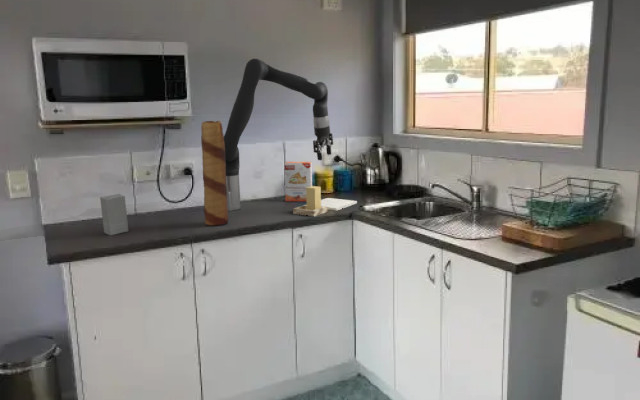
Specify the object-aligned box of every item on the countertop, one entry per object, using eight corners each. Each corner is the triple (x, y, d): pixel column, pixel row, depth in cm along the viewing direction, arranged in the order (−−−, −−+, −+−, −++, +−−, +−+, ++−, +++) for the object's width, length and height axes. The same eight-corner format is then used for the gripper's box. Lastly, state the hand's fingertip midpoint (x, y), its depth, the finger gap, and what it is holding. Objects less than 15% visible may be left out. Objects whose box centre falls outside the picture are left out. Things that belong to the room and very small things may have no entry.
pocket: (313, 216, 239) (313, 211, 238) (293, 213, 245) (292, 208, 245) (327, 211, 248) (327, 206, 248) (307, 209, 255) (306, 204, 254)
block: (315, 213, 246) (314, 188, 243) (306, 212, 248) (306, 187, 246) (321, 211, 250) (320, 186, 247) (312, 210, 253) (312, 186, 250)
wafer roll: (229, 220, 235) (223, 120, 226) (228, 225, 225) (223, 121, 216) (206, 221, 233) (199, 121, 225) (204, 227, 223) (197, 122, 214)
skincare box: (122, 229, 222) (119, 193, 219) (129, 232, 217) (126, 195, 214) (102, 233, 216) (98, 196, 213) (109, 236, 211) (105, 198, 208)
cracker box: (285, 201, 274) (283, 162, 270) (287, 199, 280) (285, 161, 275) (311, 202, 272) (310, 162, 268) (312, 199, 278) (311, 161, 274)
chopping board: (336, 210, 250) (336, 208, 250) (306, 206, 260) (306, 204, 260) (356, 203, 266) (356, 201, 266) (327, 200, 276) (327, 197, 276)
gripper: (322, 120, 254) (325, 152, 260) (306, 128, 243) (310, 161, 249) (335, 121, 250) (338, 153, 256) (320, 129, 239) (323, 162, 245)
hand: (324, 157), depth 253 cm, fingers open, 8 cm apart
